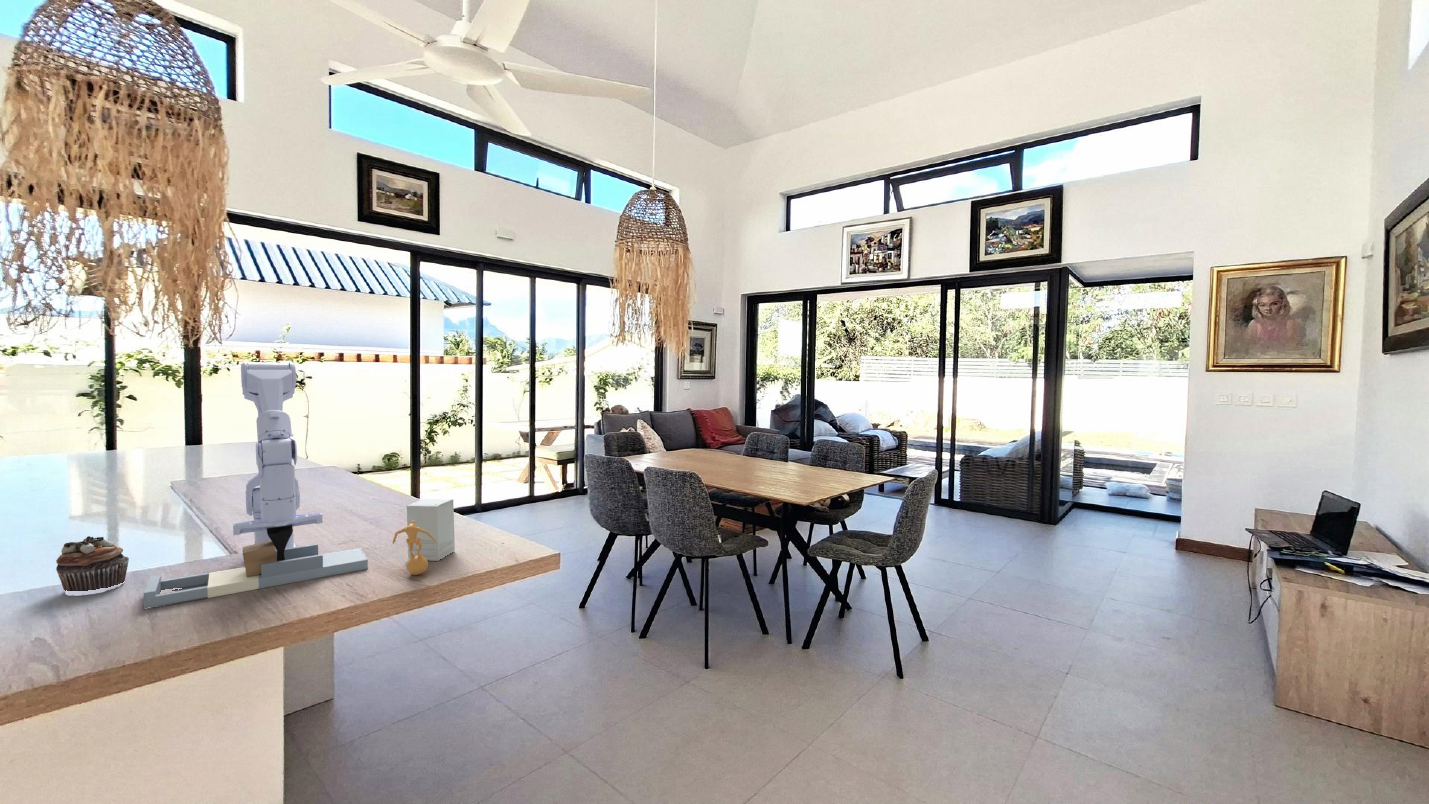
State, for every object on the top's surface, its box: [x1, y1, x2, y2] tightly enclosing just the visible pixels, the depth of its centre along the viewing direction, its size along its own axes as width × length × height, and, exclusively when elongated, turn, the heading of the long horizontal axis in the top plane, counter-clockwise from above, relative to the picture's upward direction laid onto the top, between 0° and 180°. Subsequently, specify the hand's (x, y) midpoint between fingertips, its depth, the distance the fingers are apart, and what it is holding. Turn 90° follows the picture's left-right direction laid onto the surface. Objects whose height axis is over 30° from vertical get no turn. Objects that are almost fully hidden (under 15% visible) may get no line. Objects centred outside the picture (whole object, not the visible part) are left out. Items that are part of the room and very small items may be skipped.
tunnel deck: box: [143, 543, 369, 608], centre depth 118 cm, size 10×34×4 cm, turn 129°
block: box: [242, 541, 277, 578], centre depth 117 cm, size 5×5×5 cm
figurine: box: [392, 520, 436, 576], centre depth 121 cm, size 8×6×12 cm
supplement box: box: [406, 497, 456, 562], centre depth 134 cm, size 7×7×13 cm
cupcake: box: [55, 535, 130, 591], centre depth 112 cm, size 10×10×10 cm
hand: (280, 563), depth 119 cm, fingers closed, pressing on block
